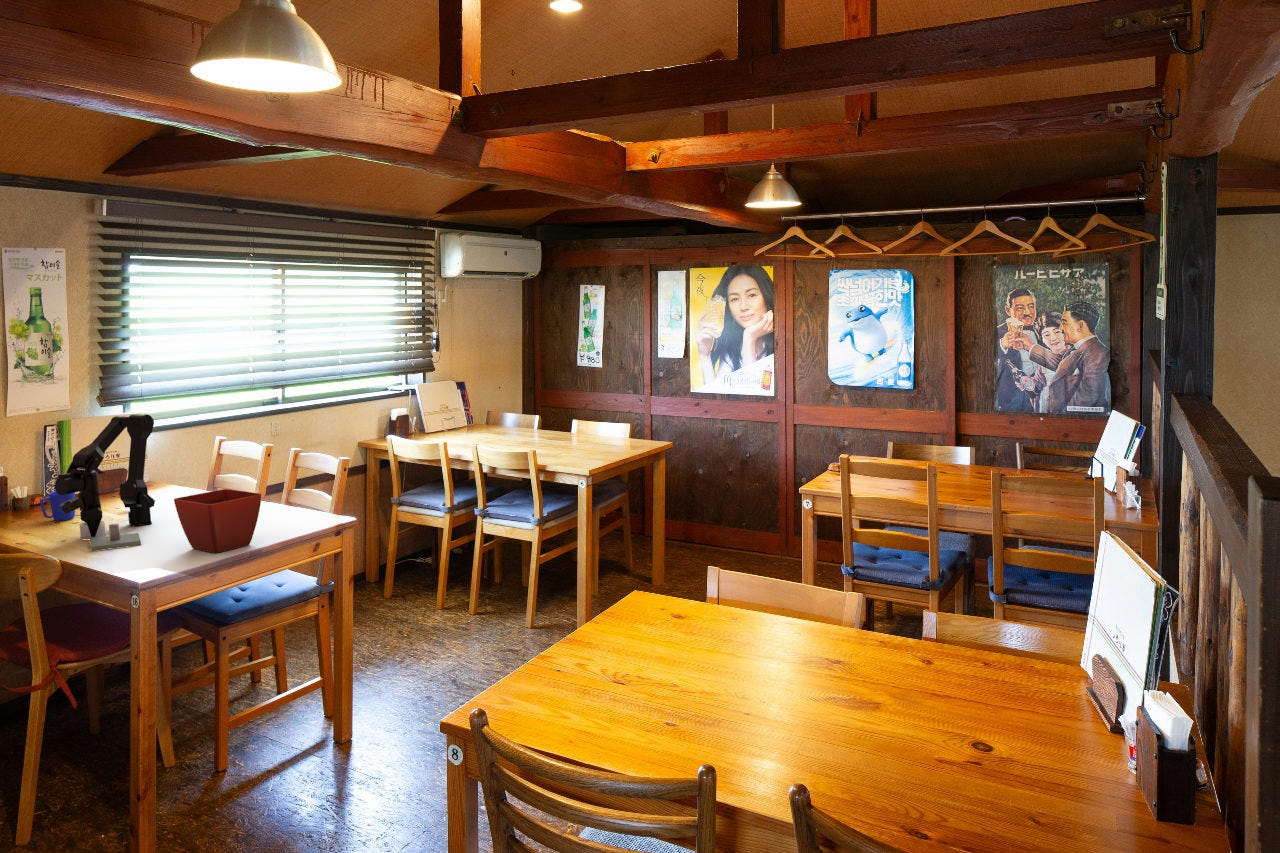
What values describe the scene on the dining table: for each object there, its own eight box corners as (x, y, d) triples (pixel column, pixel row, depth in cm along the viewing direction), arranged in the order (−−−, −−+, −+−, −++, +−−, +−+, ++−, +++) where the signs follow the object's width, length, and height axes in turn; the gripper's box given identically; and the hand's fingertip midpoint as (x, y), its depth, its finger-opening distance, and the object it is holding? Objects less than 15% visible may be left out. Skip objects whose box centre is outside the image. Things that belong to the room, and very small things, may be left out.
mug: (35, 523, 328) (32, 496, 327) (67, 515, 339) (64, 489, 338) (50, 525, 325) (48, 497, 324) (82, 517, 336) (80, 491, 335)
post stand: (138, 537, 307) (137, 518, 306) (141, 545, 297) (139, 525, 296) (90, 543, 300) (88, 523, 299) (91, 551, 290) (89, 531, 289)
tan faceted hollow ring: (105, 533, 312) (104, 519, 311) (106, 538, 306) (104, 523, 305) (80, 536, 308) (79, 522, 308) (81, 541, 302) (79, 526, 301)
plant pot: (229, 536, 307) (225, 487, 305) (266, 543, 298) (263, 493, 295) (176, 550, 291) (172, 498, 289) (213, 558, 281) (209, 504, 279)
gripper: (60, 487, 308) (65, 532, 311) (60, 497, 293) (64, 544, 295) (98, 483, 314) (102, 527, 316) (100, 493, 299) (104, 539, 301)
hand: (93, 534), depth 307 cm, fingers closed on tan faceted hollow ring, 7 cm apart
